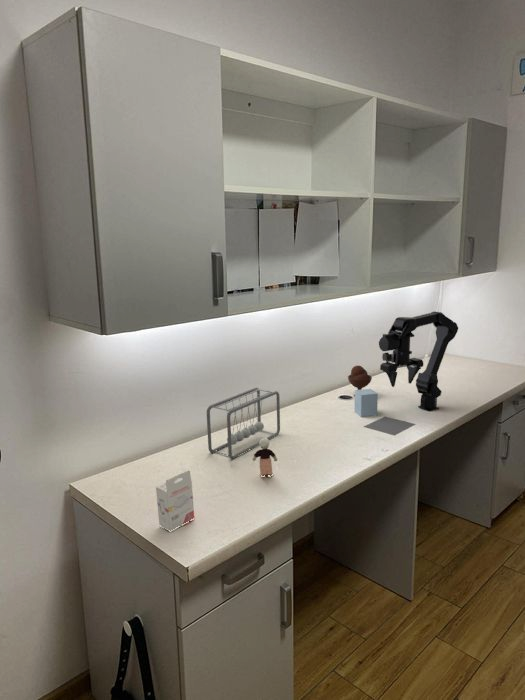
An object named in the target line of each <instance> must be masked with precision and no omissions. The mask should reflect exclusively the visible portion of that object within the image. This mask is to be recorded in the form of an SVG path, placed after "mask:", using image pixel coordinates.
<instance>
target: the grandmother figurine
mask: <svg viewBox="0 0 525 700" xmlns="http://www.w3.org/2000/svg"><path fill="white" fill-rule="evenodd" d="M259 441H260V442H259ZM259 441H258V442H259V445H258V447H260V448H261V449H258V450H257V451H255V453H254V454H253V458H252V461H253V462H255V461H256V460H257V458H259V472H260V474H261V475H262V476H264V475H265V474H266V475H267V476H268V475H270V476H271V475H272V474H273V473H274V472H273V466H272V465H273V464H272V459H273V461H274V462H277V461H278V458H277V456H276V454H275V452H274V451H273V450H271V449H269V446H270V440H268V439H267V437H263V438H261V439H260V440H259ZM271 457H272V458H271ZM260 474H259V475H260Z"/></svg>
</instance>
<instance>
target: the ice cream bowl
mask: <svg viewBox="0 0 525 700" xmlns="http://www.w3.org/2000/svg"><path fill="white" fill-rule="evenodd" d="M372 378H373V377H372V375H370V374H368V371H367V370H366V369H365V368H364V367H363V366H361V365H354V366H353V367H352V368H351V371H350V374H349V375H348V376H347V379H348V382H349V383H350V384H351V385H352V386H353V387H354V388H356V390H363V388H366V387H367V386H368V385H369V384H370V383H371V382H372ZM353 397H354V398H355V393H354V394H353Z"/></svg>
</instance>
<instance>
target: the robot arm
mask: <svg viewBox="0 0 525 700" xmlns="http://www.w3.org/2000/svg"><path fill="white" fill-rule="evenodd" d="M431 324H432V325H433V326H434V327H435V328H436V329H435V337H436V340H435V344H434V346H433V349H432V352H431V354H430V357H429V360H428V361H427V365H426V367H425V370H424V371H423V372H419V371H420V370H421V369H422V367H424V361H423V359H420V358H418V357H412V358H411V355H412V353H413V351H412V350H411V338H414V337H415V334H414V333H413V331H416V330H417V328H419V327H423V326H427V325H431ZM458 331H459V326H458V324H457V323H456V322H455V321H453V320H452V319H450V318H449V317H448V316H446V315H445V314H444V313H443V312H439V311H431V312H429V313H425V314H420V315H417V316H412V317H411V316H410V317H409V316H404V317H403V316H398V317H396V318H395V320H394V321H393V323H392V324H391V327H390V329H388V333H384V334H382V337H381V338H380V339H379V341H378V346H379V349H380V350H381V351H382V352H383V353H382V356H381V358H382V361H385V362H382V363H380V365H379V366H380V368H379V369H380V371H382V372H384V373H385V374H386V375H387V376H388V379H389V382H390V385H391V387H392V388H395V385H396V381H397V377H398V371H397V370H398V369H400V368H404V367H405V368H406V369H407V374H408V375H407V379H408V380H407V381H408V384H412V382H413V381H414V379H415V378H416V376H417V378H416V379H415V387H416V389H417V393H418V394H420V404H419V405H418V406H417V407H418V408H419V409H422V410H424V411H427V412H430V411H431V412H433V411H436V410H439V409H440V407H439V406H438V405H437V404H438V398H439V397H441V396H442V390H441V389H440V388H439V387H438V383H439V379H438V372H439V369H440V367H441V364H442V362H443V359H444V356H445V354H446V350H447V347H448V345H449V344H450V342H451V341H452V340H453V339H455V337H456V336H457V333H458ZM388 351H389V352H390V351H392V353H389V352H388ZM418 372H419V373H418Z"/></svg>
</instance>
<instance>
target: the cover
mask: <svg viewBox="0 0 525 700" xmlns="http://www.w3.org/2000/svg"><path fill="white" fill-rule="evenodd" d="M354 394H355V397H354V414H357V416H359V417H360V418H367V417H369V418H370V417H377V416H378V402H379V401H378V399H379V398H378V396H379V395H378V394H379V393H378V392H376V391H375V390H374V389H372V388H365V389H363V388H362V389H361V390H358V389H356V390H355V389H354Z"/></svg>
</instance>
